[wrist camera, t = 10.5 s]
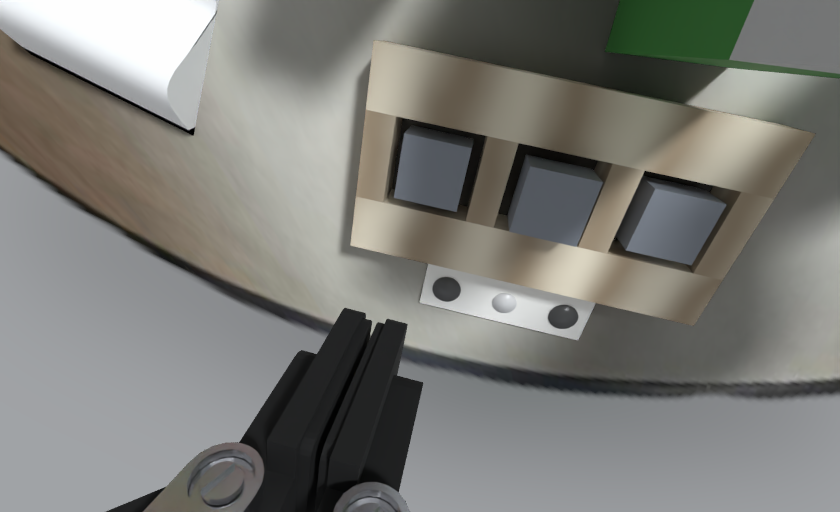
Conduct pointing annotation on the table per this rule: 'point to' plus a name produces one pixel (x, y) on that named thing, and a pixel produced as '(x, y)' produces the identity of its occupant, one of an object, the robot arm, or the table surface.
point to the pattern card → (505, 302)
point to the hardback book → (733, 33)
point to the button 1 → (432, 167)
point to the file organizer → (123, 47)
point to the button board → (577, 135)
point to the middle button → (553, 200)
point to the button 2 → (669, 220)
